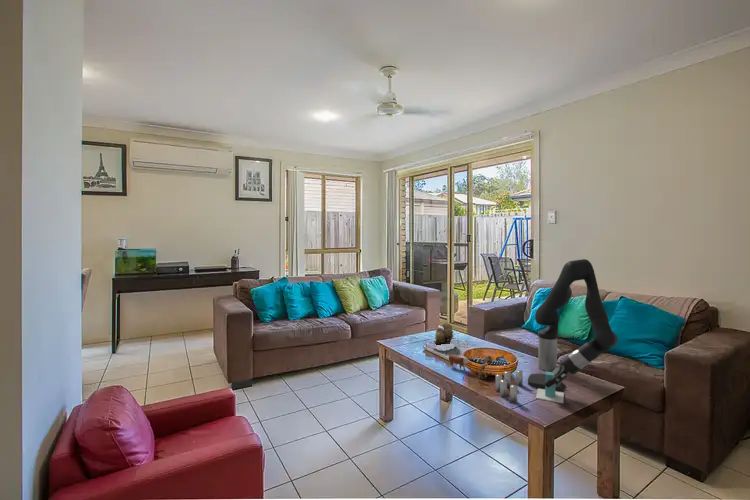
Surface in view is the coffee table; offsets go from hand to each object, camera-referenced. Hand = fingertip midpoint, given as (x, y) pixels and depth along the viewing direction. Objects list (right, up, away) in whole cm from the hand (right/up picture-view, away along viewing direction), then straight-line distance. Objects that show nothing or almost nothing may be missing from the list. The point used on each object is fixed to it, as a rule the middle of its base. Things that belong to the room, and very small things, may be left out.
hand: (546, 382), depth 170 cm
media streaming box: (+5, -6, +13) cm, 16 cm away
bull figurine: (-32, -5, +34) cm, 48 cm away
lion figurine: (-20, -6, +26) cm, 34 cm away
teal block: (+1, -6, 0) cm, 6 cm away
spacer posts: (-16, -6, +5) cm, 18 cm away
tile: (+1, -6, 0) cm, 6 cm away
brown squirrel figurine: (-33, -4, +73) cm, 81 cm away
